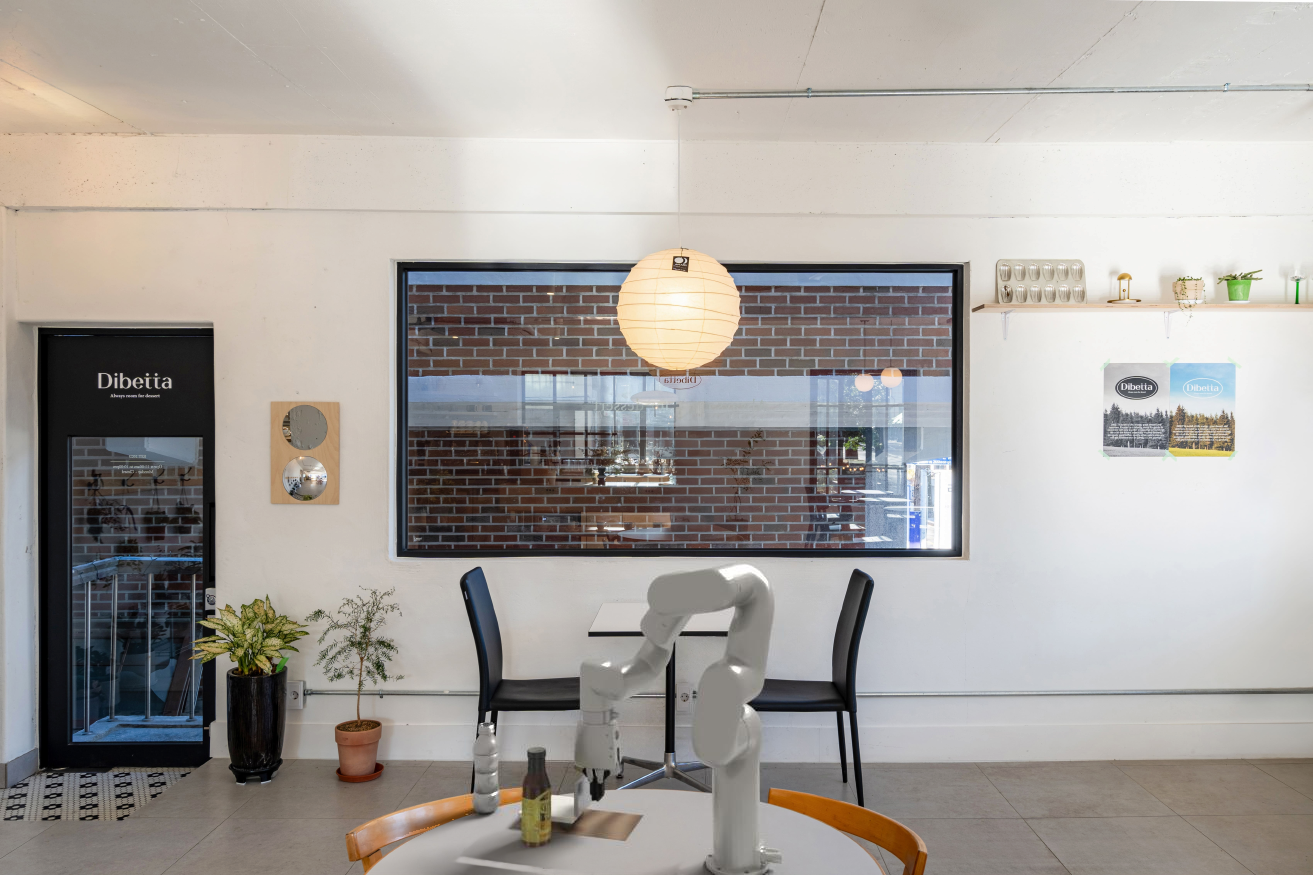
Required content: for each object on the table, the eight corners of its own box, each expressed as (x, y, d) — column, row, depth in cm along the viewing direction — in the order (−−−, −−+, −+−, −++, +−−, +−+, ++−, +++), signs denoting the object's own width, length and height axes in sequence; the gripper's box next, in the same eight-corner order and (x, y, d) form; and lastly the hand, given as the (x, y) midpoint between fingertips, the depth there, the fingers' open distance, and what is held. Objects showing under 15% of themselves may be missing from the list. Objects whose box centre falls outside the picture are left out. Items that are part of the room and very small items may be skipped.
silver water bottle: (466, 815, 184) (466, 727, 185) (481, 803, 190) (481, 719, 191) (491, 818, 182) (491, 730, 183) (505, 806, 188) (505, 721, 189)
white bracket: (594, 811, 182) (594, 768, 183) (576, 831, 171) (576, 786, 172) (539, 804, 186) (538, 763, 186) (518, 824, 175) (518, 780, 176)
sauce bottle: (545, 853, 164) (544, 755, 165) (517, 850, 166) (516, 754, 167) (555, 838, 171) (554, 745, 172) (528, 836, 172) (527, 744, 173)
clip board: (643, 819, 180) (643, 815, 180) (625, 845, 167) (625, 840, 167) (539, 807, 187) (539, 803, 187) (514, 831, 175) (514, 826, 175)
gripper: (633, 713, 179) (634, 795, 178) (572, 708, 183) (572, 788, 182) (622, 723, 172) (623, 809, 171) (559, 717, 176) (559, 801, 175)
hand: (597, 798), depth 176 cm, fingers closed
